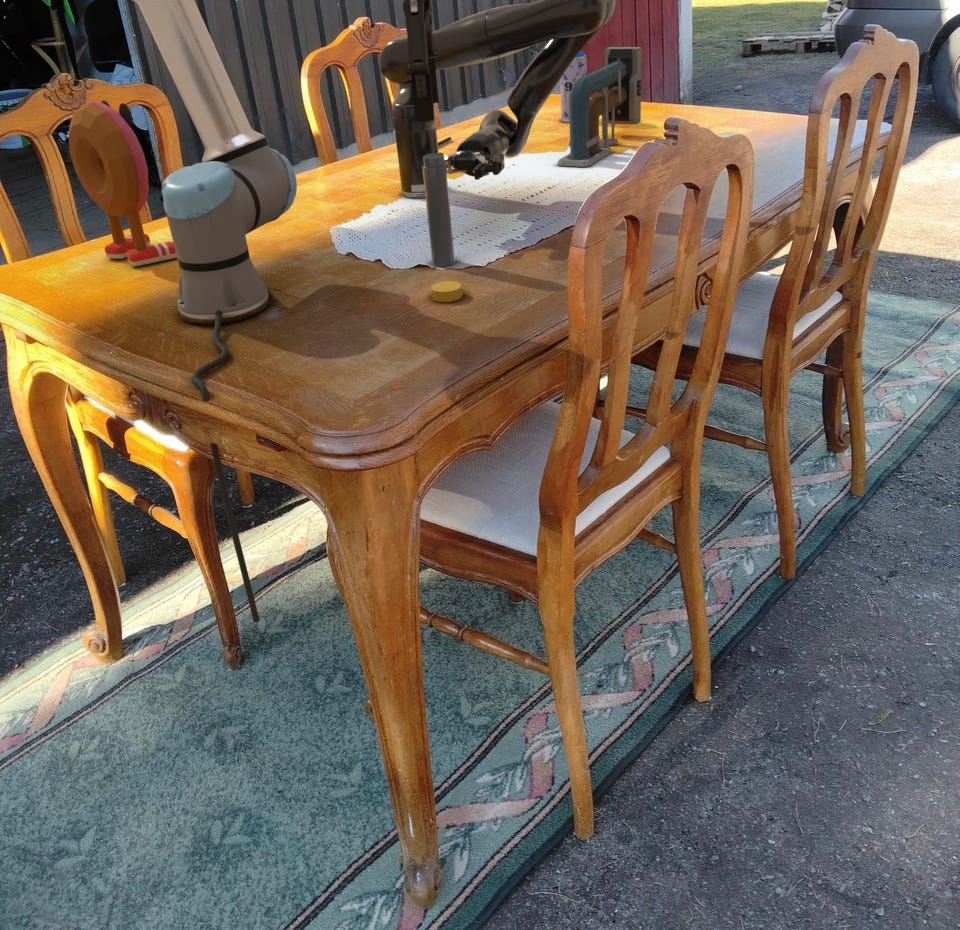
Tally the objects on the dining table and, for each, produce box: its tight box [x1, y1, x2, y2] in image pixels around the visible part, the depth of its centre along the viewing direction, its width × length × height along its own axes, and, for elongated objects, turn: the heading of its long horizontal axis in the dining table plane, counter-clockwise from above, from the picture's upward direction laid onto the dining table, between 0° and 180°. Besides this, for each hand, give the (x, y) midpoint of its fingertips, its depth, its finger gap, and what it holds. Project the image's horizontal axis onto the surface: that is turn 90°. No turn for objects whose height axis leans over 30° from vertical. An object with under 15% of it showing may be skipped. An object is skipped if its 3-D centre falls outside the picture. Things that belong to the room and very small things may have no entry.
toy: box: [68, 100, 177, 267], centre depth 187 cm, size 21×10×30 cm, turn 47°
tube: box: [422, 152, 456, 267], centre depth 174 cm, size 4×4×19 cm
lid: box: [430, 280, 463, 303], centre depth 163 cm, size 5×5×2 cm
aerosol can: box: [559, 50, 588, 123], centre depth 273 cm, size 8×8×20 cm
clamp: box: [556, 46, 642, 168], centre depth 239 cm, size 35×9×21 cm, turn 151°
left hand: (427, 111), depth 148 cm, fingers open, 13 cm apart
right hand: (454, 173), depth 180 cm, fingers open, 8 cm apart
